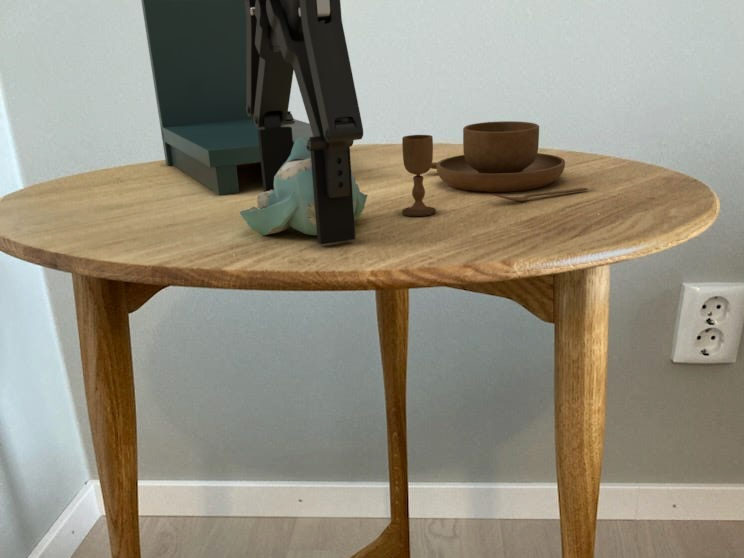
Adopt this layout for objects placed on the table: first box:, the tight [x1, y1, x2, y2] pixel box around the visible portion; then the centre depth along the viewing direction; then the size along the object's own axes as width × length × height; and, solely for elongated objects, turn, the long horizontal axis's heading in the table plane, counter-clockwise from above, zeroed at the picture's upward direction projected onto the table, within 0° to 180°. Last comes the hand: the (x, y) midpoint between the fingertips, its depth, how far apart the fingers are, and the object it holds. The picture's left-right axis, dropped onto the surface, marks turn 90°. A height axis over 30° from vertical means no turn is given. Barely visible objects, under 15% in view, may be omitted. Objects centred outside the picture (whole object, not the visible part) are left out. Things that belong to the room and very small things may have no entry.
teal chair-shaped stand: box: [140, 0, 313, 196], centre depth 91 cm, size 21×14×22 cm, turn 24°
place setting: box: [401, 120, 589, 217], centre depth 83 cm, size 18×20×6 cm
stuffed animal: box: [239, 137, 368, 237], centre depth 71 cm, size 11×7×12 cm
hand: (307, 225), depth 73 cm, fingers closed on stuffed animal, 12 cm apart
